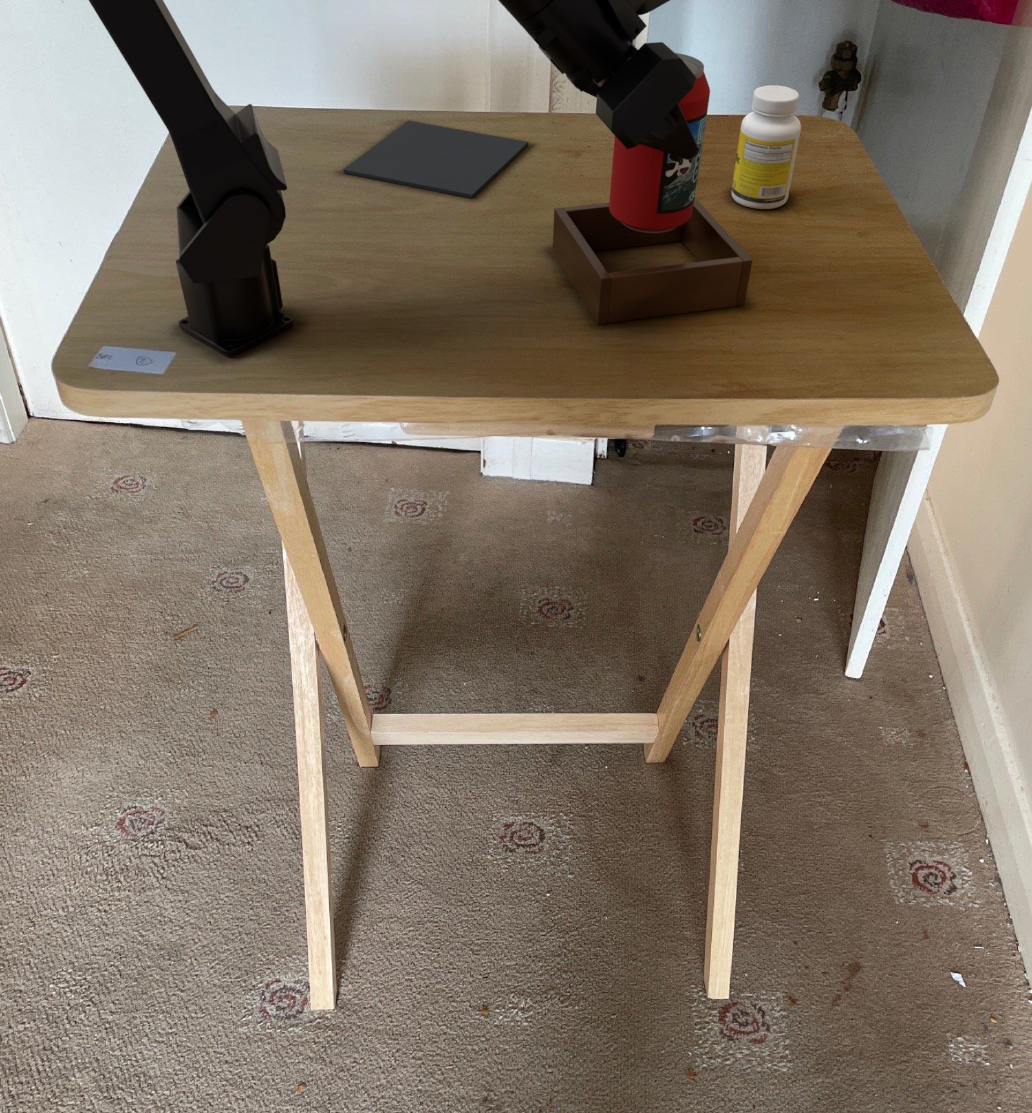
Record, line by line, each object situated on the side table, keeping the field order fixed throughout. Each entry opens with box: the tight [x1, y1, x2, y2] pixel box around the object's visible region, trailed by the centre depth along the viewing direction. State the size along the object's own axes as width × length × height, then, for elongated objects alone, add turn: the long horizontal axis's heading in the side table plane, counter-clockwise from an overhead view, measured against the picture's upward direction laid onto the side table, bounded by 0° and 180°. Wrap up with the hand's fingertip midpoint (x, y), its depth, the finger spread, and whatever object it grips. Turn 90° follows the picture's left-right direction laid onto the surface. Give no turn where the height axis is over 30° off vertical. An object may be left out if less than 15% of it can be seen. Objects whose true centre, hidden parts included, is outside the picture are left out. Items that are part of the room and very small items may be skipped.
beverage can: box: [608, 52, 711, 233], centre depth 80 cm, size 7×7×12 cm
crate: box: [552, 197, 753, 325], centre depth 86 cm, size 13×13×4 cm
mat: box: [342, 120, 529, 199], centre depth 105 cm, size 14×14×1 cm
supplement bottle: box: [731, 84, 802, 210], centre depth 96 cm, size 5×5×10 cm
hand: (675, 136), depth 80 cm, fingers closed on beverage can, 7 cm apart
